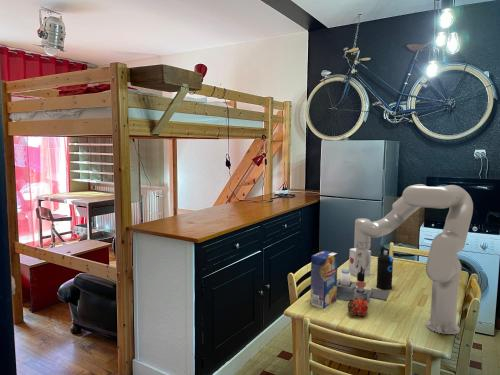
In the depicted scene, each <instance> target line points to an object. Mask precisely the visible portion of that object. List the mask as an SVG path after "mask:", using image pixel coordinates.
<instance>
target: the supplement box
mask: <svg viewBox="0 0 500 375" xmlns="http://www.w3.org/2000/svg"><path fill="white" fill-rule="evenodd" d="M355 258H356V248H355V247H353V248H349V259H348V262H349V263H348V270H349V271H350V275H352V276H355V277H357V273H358V267H357V268H356V267H355ZM371 262H372V250H370V249H369V265H368V267H367V268H366V269H365V272H364V273H365V277H367V276H368V277H369V276H371Z"/></svg>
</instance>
